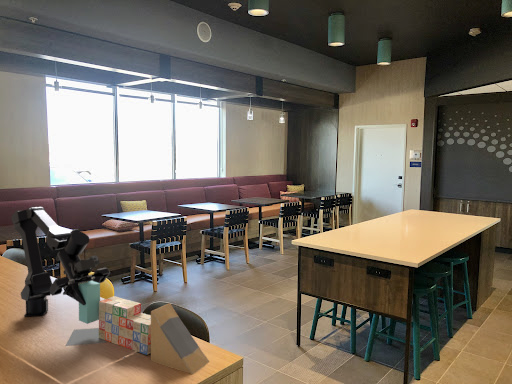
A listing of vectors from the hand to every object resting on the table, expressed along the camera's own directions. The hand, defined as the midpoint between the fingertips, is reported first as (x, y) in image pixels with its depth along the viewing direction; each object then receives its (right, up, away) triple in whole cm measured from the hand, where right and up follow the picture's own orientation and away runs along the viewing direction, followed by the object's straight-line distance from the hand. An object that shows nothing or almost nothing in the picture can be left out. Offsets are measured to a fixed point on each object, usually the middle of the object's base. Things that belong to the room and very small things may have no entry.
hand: (92, 302), depth 127 cm
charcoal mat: (-1, -12, +2) cm, 12 cm away
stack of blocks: (+13, -12, -2) cm, 18 cm away
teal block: (-1, -6, +1) cm, 6 cm away
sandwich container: (+31, -14, -12) cm, 36 cm away
